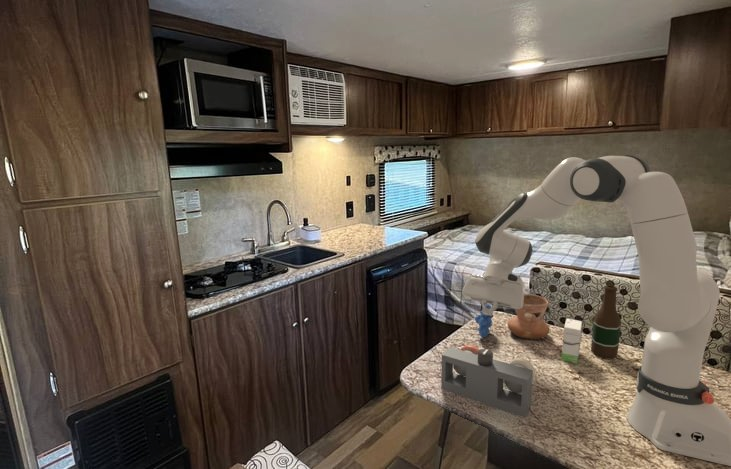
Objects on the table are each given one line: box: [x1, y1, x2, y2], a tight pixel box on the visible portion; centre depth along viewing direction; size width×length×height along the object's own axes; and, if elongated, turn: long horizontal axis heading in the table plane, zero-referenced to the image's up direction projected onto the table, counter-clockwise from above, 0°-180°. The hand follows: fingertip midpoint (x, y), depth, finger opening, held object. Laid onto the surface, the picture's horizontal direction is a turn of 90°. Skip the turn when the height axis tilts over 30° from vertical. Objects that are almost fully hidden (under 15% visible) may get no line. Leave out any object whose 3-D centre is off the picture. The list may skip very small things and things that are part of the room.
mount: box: [440, 346, 533, 419], centre depth 109 cm, size 24×6×11 cm, turn 55°
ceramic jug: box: [507, 293, 550, 340], centre depth 147 cm, size 18×14×14 cm
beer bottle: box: [590, 284, 622, 360], centre depth 130 cm, size 8×8×24 cm
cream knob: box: [503, 357, 536, 394], centre depth 110 cm, size 7×8×7 cm
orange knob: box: [453, 344, 480, 377], centre depth 118 cm, size 7×8×7 cm
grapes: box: [474, 303, 494, 339], centre depth 147 cm, size 12×7×12 cm, turn 147°
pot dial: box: [478, 348, 494, 366], centre depth 107 cm, size 4×4×3 cm
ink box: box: [561, 318, 583, 364], centre depth 130 cm, size 9×5×12 cm, turn 149°
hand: (486, 314), depth 130 cm, fingers closed
